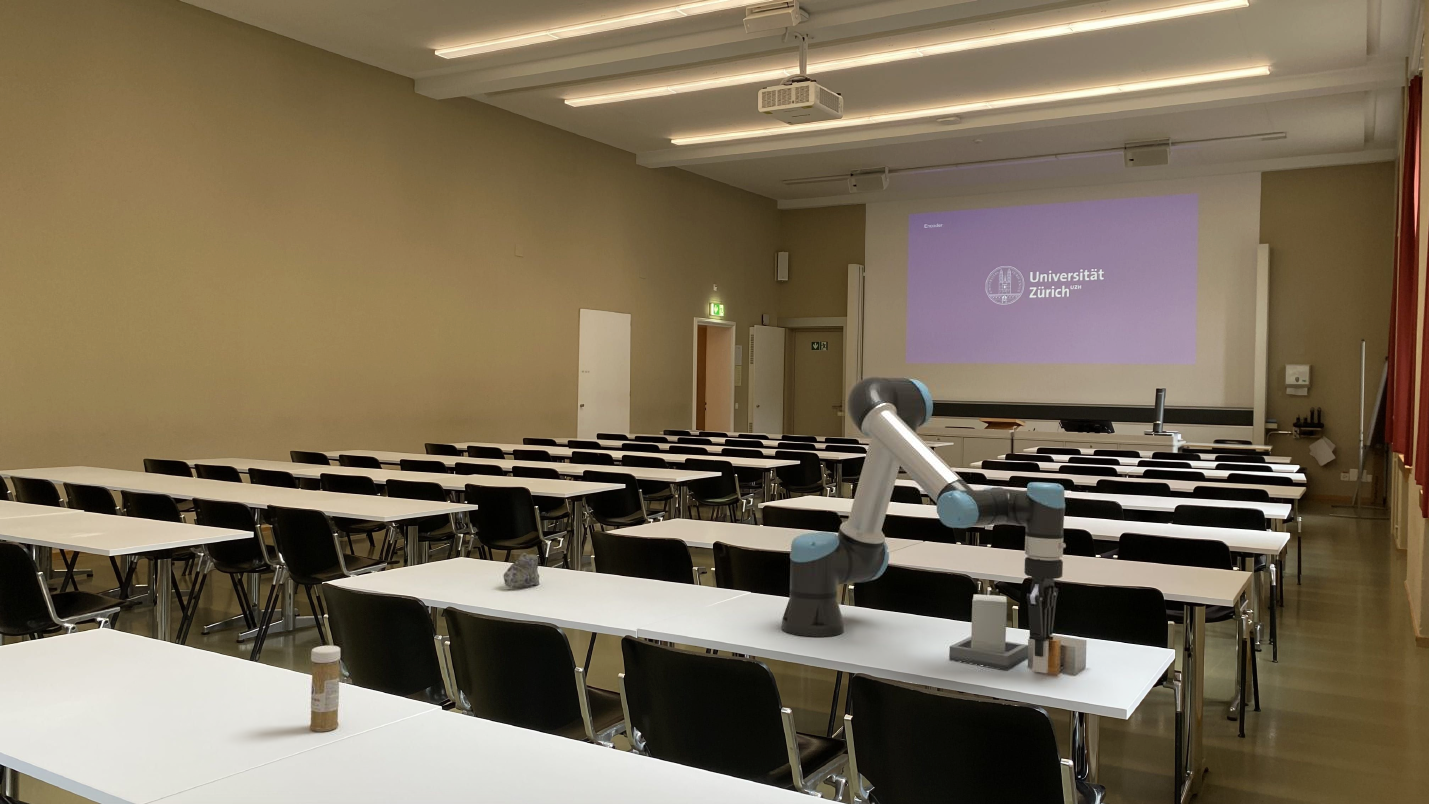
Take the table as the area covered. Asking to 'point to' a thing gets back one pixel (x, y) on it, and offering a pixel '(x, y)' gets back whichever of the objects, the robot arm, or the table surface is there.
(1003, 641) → the supplement box
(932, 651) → the table surface
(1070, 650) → the pin mount
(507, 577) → the mineral rock
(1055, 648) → the lock pin
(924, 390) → the robot arm
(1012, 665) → the cradle
